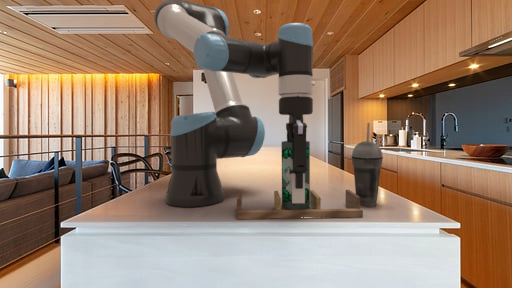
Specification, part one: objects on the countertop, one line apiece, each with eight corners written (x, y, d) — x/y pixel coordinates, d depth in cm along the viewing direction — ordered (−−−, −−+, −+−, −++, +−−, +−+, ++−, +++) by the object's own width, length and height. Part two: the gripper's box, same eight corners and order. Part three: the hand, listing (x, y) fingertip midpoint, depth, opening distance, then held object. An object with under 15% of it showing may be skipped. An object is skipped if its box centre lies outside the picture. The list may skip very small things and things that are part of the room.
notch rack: (236, 219, 64) (236, 200, 64) (238, 207, 73) (238, 191, 73) (362, 217, 64) (362, 198, 64) (348, 206, 73) (348, 189, 73)
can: (280, 210, 67) (279, 142, 66) (284, 203, 73) (284, 140, 72) (308, 211, 66) (308, 142, 65) (310, 204, 72) (310, 140, 71)
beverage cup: (377, 200, 78) (378, 122, 77) (386, 208, 71) (387, 122, 70) (348, 200, 79) (348, 123, 77) (354, 208, 71) (355, 122, 70)
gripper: (322, 92, 58) (322, 210, 60) (304, 100, 78) (304, 189, 79) (283, 92, 58) (284, 211, 60) (275, 100, 77) (276, 190, 79)
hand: (295, 198), depth 69 cm, fingers closed on can, 6 cm apart
